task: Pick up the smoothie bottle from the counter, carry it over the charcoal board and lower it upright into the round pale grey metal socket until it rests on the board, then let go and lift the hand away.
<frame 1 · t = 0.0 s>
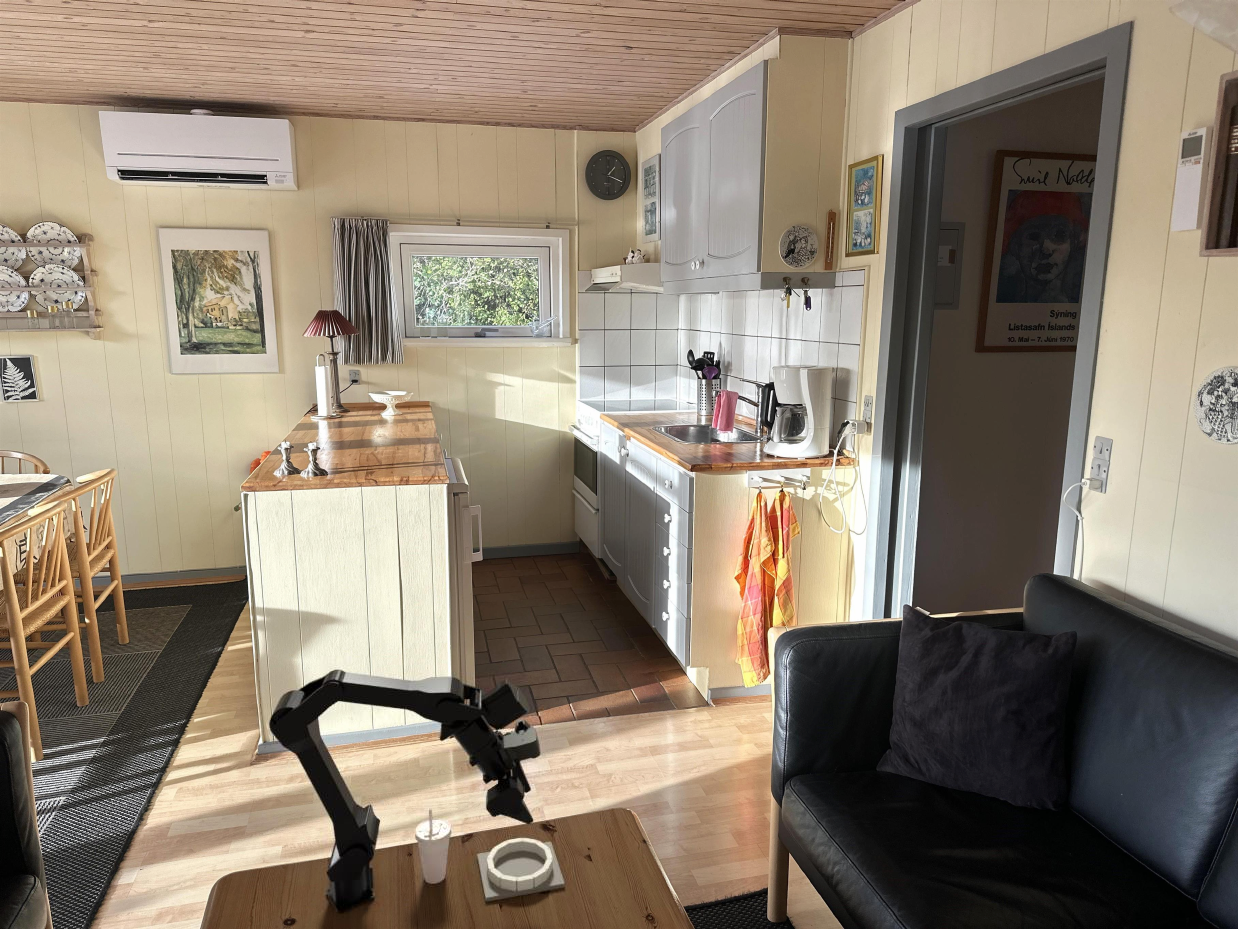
hand: (530, 806, 151), 15 cm above the table, tool tilted 35°, fingers open, 9 cm apart
smoothie: (434, 877, 155), on the table
socket board: (519, 872, 156), on the table
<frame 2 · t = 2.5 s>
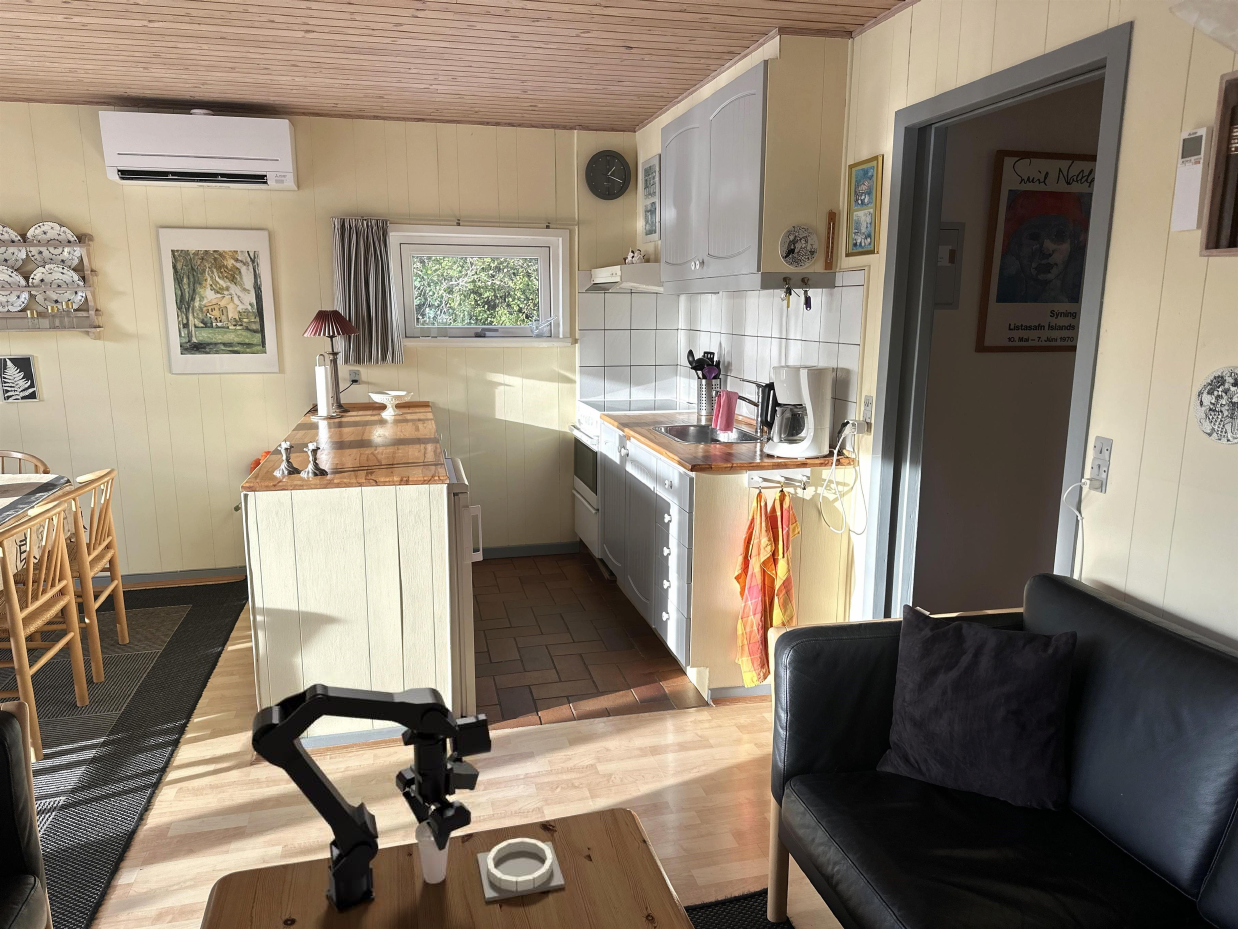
hand: (433, 839, 153), 8 cm above the table, tool pointing down, fingers closed on smoothie, 6 cm apart
smoothie: (435, 877, 155), on the table, touching gripper
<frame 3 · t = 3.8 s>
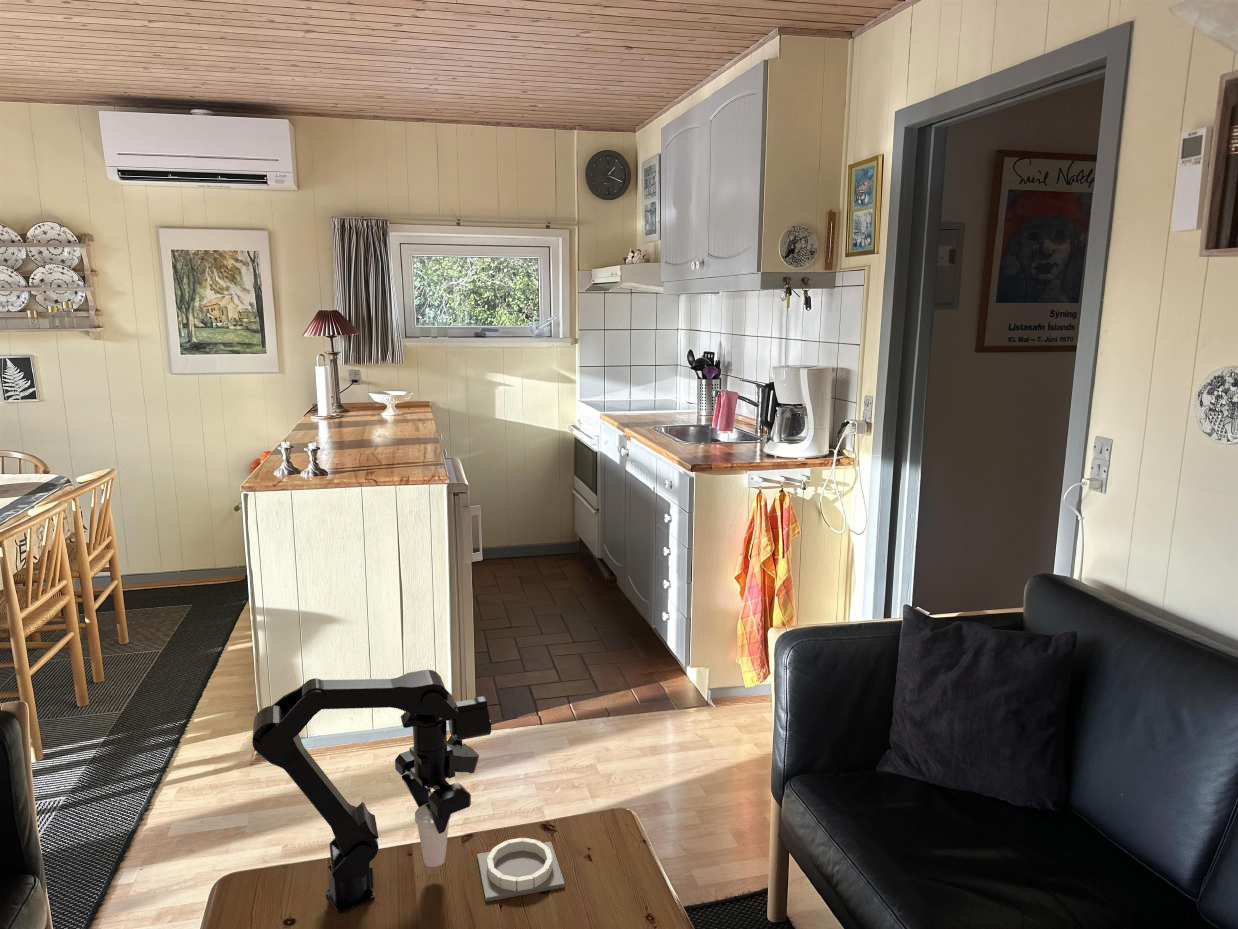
hand: (433, 823, 153), 11 cm above the table, tool pointing down, fingers closed on smoothie, 6 cm apart
smoothie: (434, 861, 154), point 3 cm above the table, touching gripper
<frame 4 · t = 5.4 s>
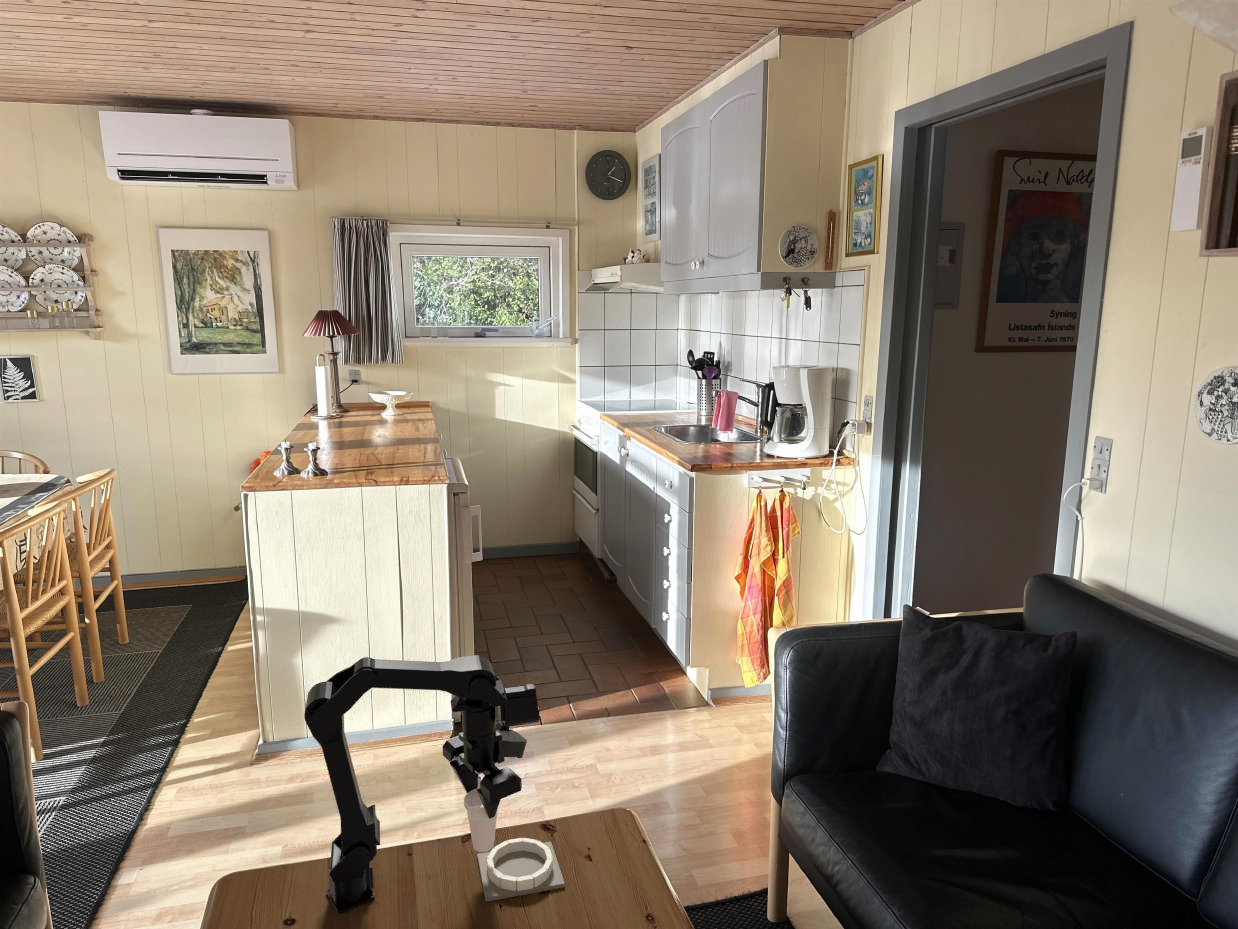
hand: (482, 808, 153), 13 cm above the table, tool pointing down, fingers closed on smoothie, 6 cm apart
smoothie: (483, 846, 155), point 6 cm above the table, touching gripper
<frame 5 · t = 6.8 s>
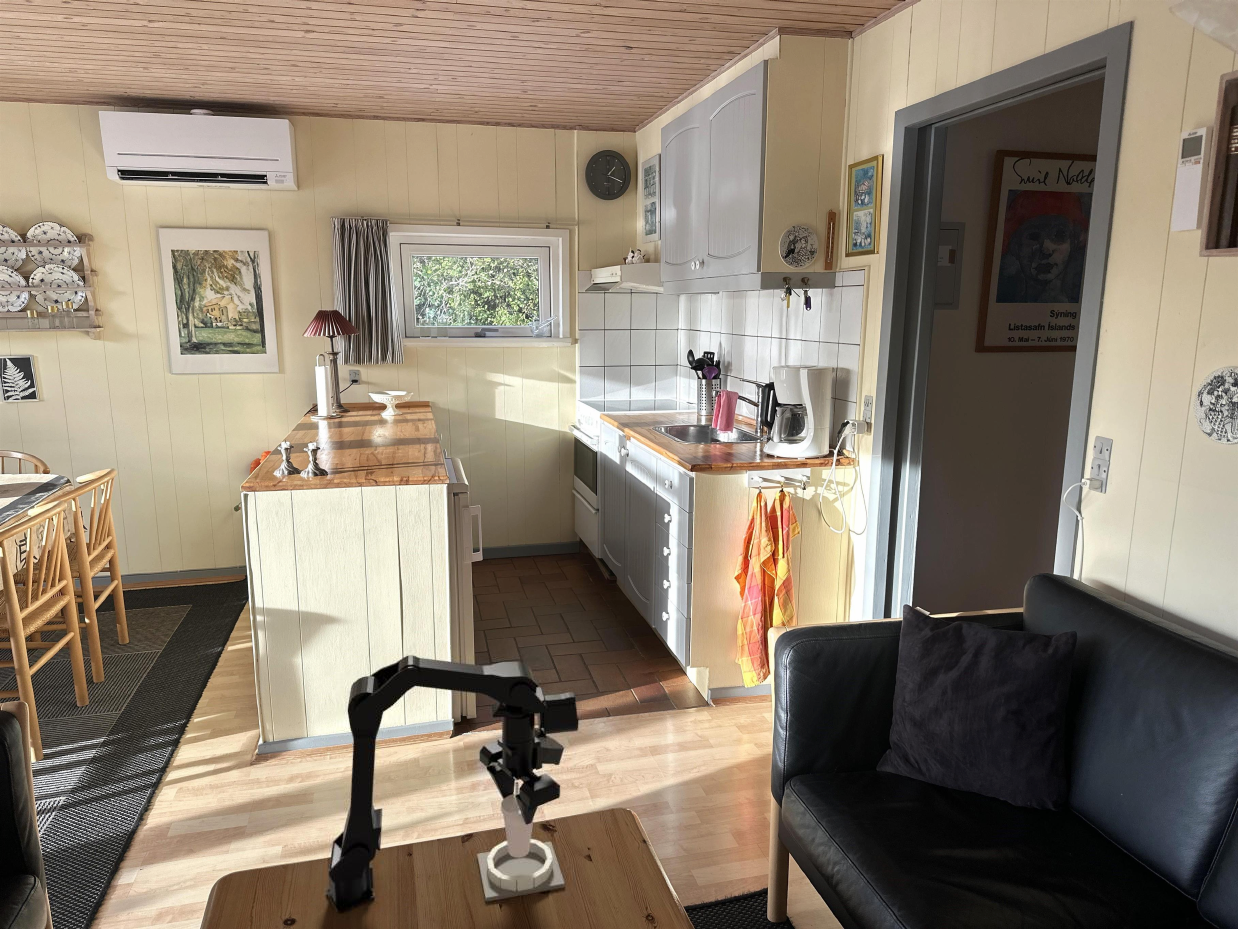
hand: (518, 814, 154), 12 cm above the table, tool pointing down, fingers closed on smoothie, 6 cm apart
smoothie: (518, 851, 156), point 4 cm above the table, touching gripper
when the fingers open (9 cm above the table, at t = 8.3 s): smoothie stays where it is, resting on socket board.
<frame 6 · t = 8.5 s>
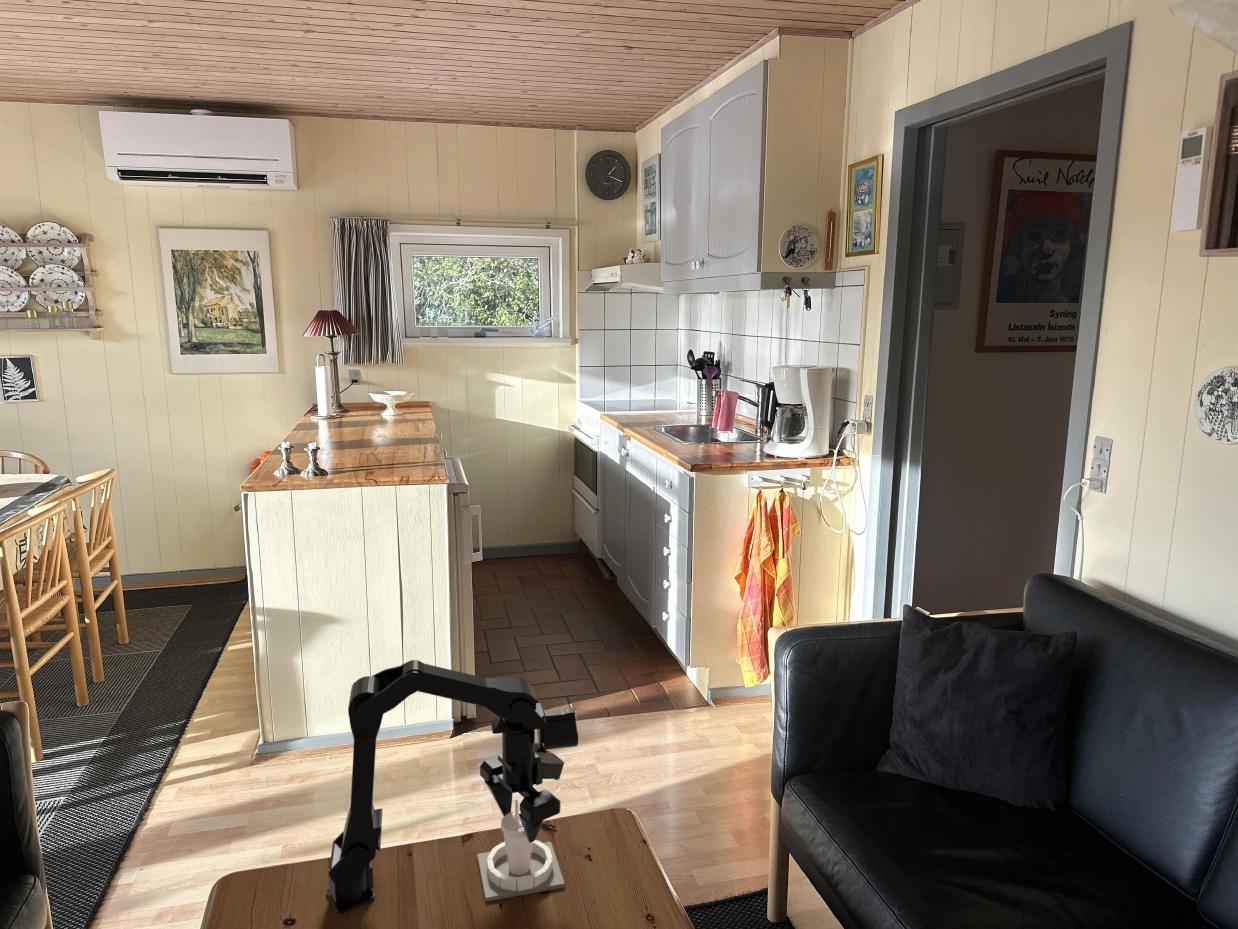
hand: (519, 829, 155), 9 cm above the table, tool pointing down, fingers open, 8 cm apart
smoothie: (519, 869, 156), point 1 cm above the table, touching socket board
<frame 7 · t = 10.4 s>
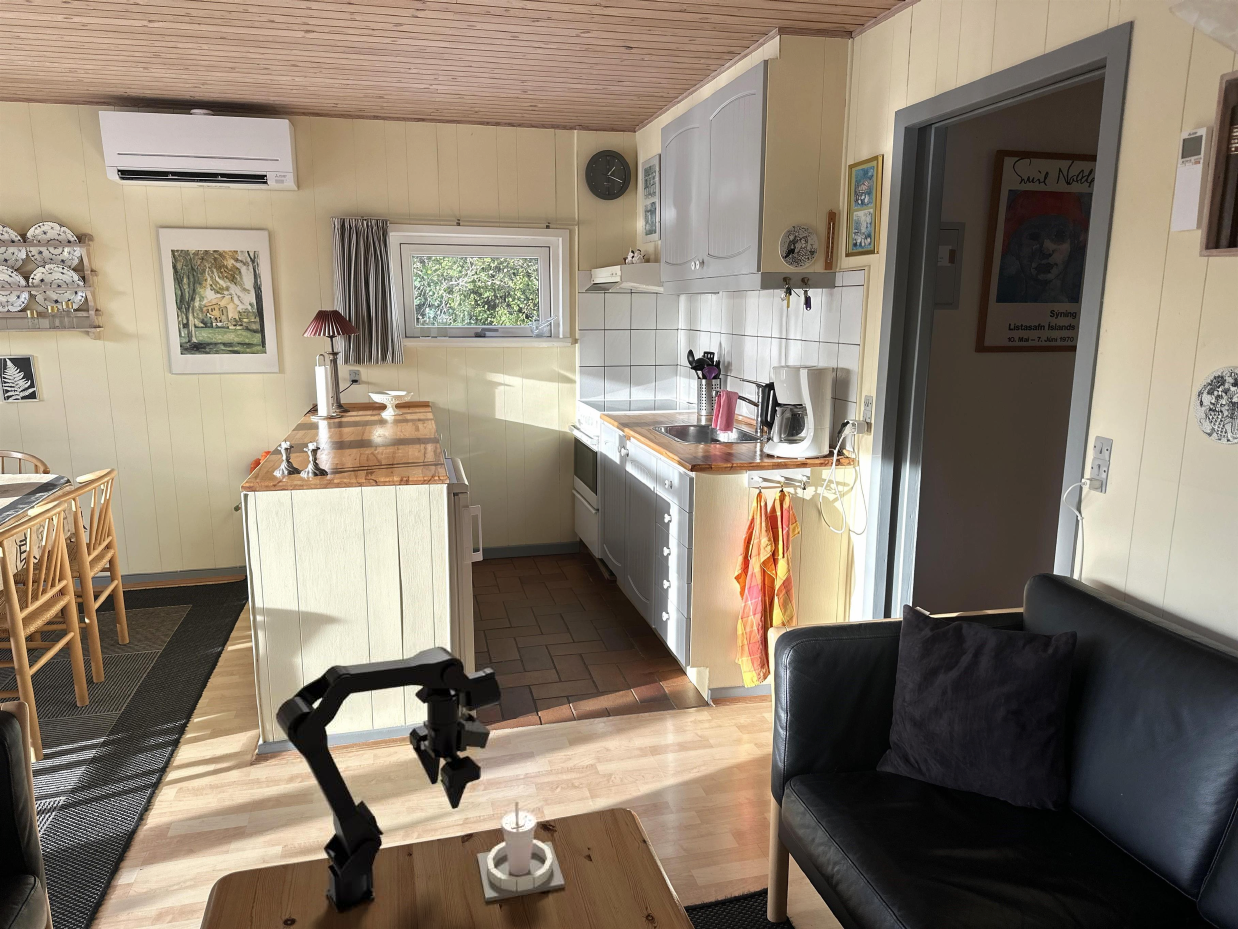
hand: (444, 795, 158), 13 cm above the table, tool pointing down, fingers open, 9 cm apart
nothing on the table moved.
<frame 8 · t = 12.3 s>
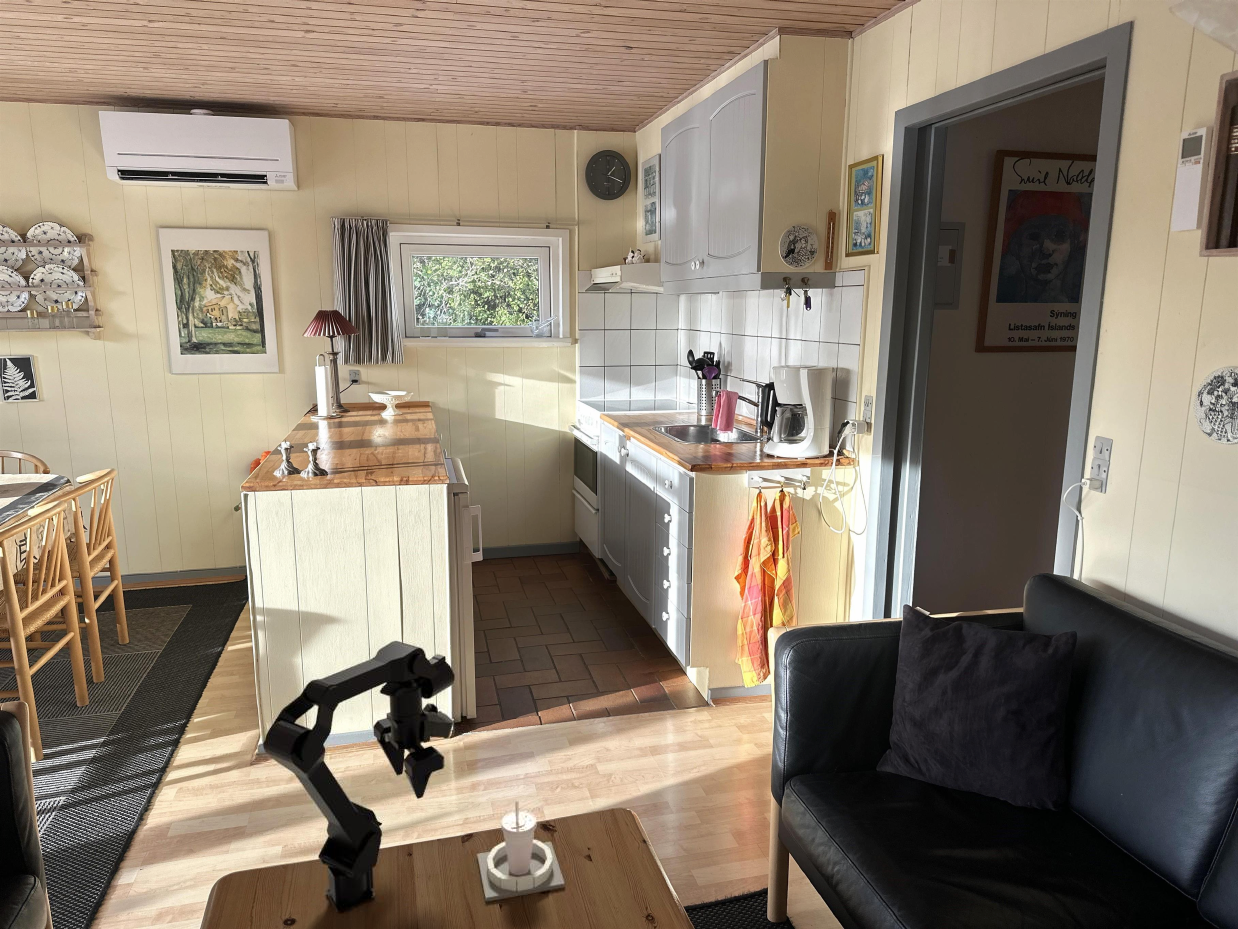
hand: (409, 785, 160), 13 cm above the table, tool pointing down, fingers open, 9 cm apart
nothing on the table moved.
at the end: smoothie 0.1 cm off-centre on the socket board, point 0.6 cm above the socket board's base; smoothie tilted 0°; the gripper is holding nothing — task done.
